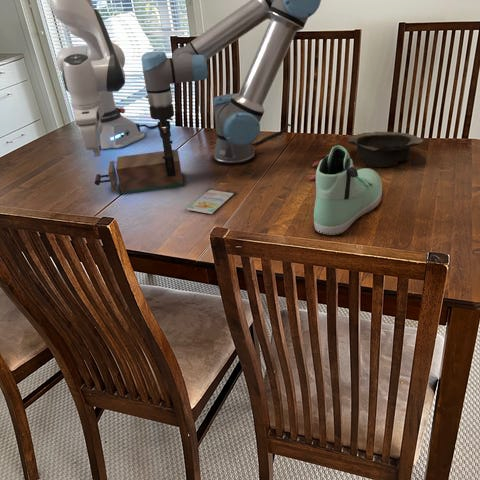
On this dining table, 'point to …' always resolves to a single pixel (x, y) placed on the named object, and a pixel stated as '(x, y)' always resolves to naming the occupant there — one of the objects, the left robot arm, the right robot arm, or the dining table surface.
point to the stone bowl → (384, 147)
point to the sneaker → (343, 192)
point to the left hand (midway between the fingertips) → (98, 153)
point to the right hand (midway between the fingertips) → (170, 169)
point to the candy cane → (315, 173)
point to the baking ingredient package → (210, 201)
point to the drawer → (111, 175)
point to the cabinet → (147, 172)
